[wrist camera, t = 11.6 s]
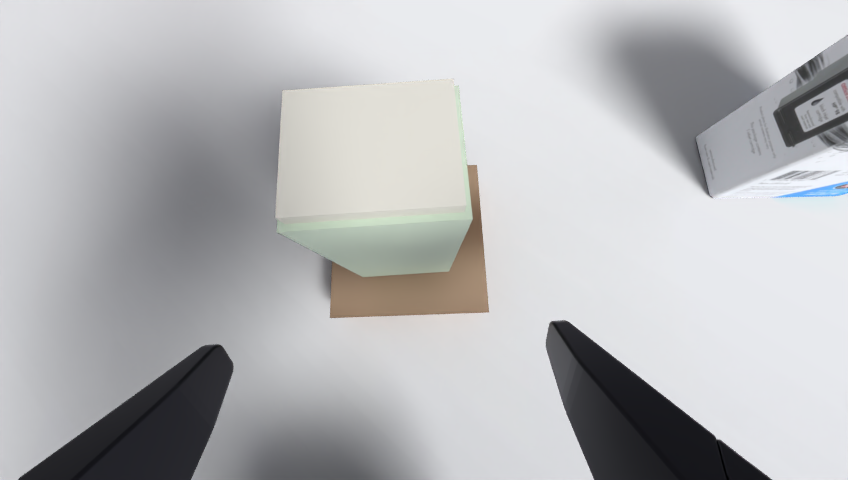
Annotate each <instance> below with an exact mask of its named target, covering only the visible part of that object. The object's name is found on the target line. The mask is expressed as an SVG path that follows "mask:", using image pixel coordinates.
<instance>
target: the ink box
mask: <svg viewBox="0 0 848 480" xmlns="http://www.w3.org/2000/svg"><path fill="white" fill-rule="evenodd" d="M696 141H697V145H698V150H699V154H700V158H701V162H702V166H703V169H704V173H705V178H706V182H707V186H708V190H709V194H710V196H712V197H713V198H765V197H806V196H839V195H843V194H846V193H848V35H847V36H845V37H844V38H842V39H841V40H839V41H838V42H836V43H834V44H833V45H831V46H830V47H828V48H827V49H825V50H824V51H822V52H821V53H820V54H818V55H817V56H815V57H814V58H813V59H811V60H809V61H808V62H806V63H805V64H804V65H802V66H801V67H799V68H797V69H796V70H794V71H793V72H791V73H790V74H788V75H787V76H785V77H784V78H782V79H781V80H779V81H778V82H776V83H775V84H773V85H772V86H771V87H769V88H768V89H766V90H765V91H763V92H762V93H760V94H759V95H757V96H756V97H754V98H753V99H751V100H750V101H748V102H747V103H745V104H744V105H742V106H741V107H739V108H738V109H737V110H735V111H733V112H732V113H730V114H729V115H727V116H726V117H724V118H723V119H721V120H720V121H718V122H717V123H715V124H714V125H713V126H711V127H709V128H708V129H707V130H705V131H704V132H702V133H701V134H699V135H698V136H697V137H696Z"/></svg>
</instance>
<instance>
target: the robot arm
mask: <svg viewBox="0 0 848 480" xmlns="http://www.w3.org/2000/svg"><path fill="white" fill-rule="evenodd" d="M546 349H547V353H548V356H549V359H550V363H551V366H552V369H553V373H554V376H555V379H556V383H557V386H558V389H559V392H560V396H561V399H562V402H563V405H564V408H565V411H566V413H567V416H568V418H569V421H570V423H571V425H572V428H573V430H574V432H575V435H576V437H577V440H578V442H579V444H580V447H581V449H582V452H583V454H584V456H585V459H586V461H587V463H588V466H589V468H590V471H591V473H592V475H593V478H594V480H772V479H771V478H769V477H768V476H767V475H765V474H764V473H763V472H761V471H760V470H759V469H757V468H756V467H755V466H753V465H752V464H751V463H750V462H748V461H747V460H746V459H744V458H743V457H742V456H740V455H739V454H738V453H736V452H735V451H734V450H733V449H731V448H730V447H729V446H727V445H726V444H725V443H724V442H722V441H721V440H718V439H716V437H715V436H714V435H713V434H712V433H711V432H709V431H708V430H707V429H705V428H704V427H703V426H702V425H700V424H699V423H698V422H696V421H695V420H694V419H693V418H691V417H690V416H689V415H688V414H686V413H685V412H684V411H682V410H681V409H680V408H679V407H677V406H676V405H675V404H673V403H672V402H671V401H670V400H668V399H667V398H666V397H664V396H663V395H662V394H661V393H659V392H658V391H657V390H655V389H654V388H653V387H652V386H650V385H649V384H648V383H646V382H645V381H644V380H643V379H641V378H640V377H639V376H637V375H636V374H635V373H634V372H632V371H631V370H630V369H628V368H627V367H626V366H625V365H623V364H622V363H621V362H620V361H618V360H617V359H616V358H614V357H613V356H612V355H611V354H609V353H608V352H607V351H605V350H604V349H603V348H602V347H600V346H599V345H598V344H596V343H595V342H594V341H593V340H591V339H590V338H589V337H587V336H586V335H585V334H584V333H582V332H581V331H580V330H578V329H577V328H576V327H575V326H573V325H572V324H571V323H569V322H568V321H565V320H561V321H552V322H550V324H549V328H548V333H547V339H546ZM232 373H233V362H232V361H231V359H230V357H229V356H228V354H227V353H226V351H225V349H224V348H223V347H222V346H221V345H219V344H215V345H205V346H202V347H201V348H199V349H198V350H196V351H195V352H194V353H192V354H191V355H189V356H188V357H187V358H185V359H184V360H182V361H181V362H180V363H178V364H177V365H176V366H174V367H173V368H171V369H170V370H169V371H167V372H166V373H164V374H163V375H162V376H160V377H159V378H157V379H156V380H155V381H153V382H152V383H151V384H149V385H148V386H146V387H145V388H144V389H142V390H141V391H139V392H138V393H137V394H135V395H134V396H132V397H131V398H130V399H128V400H127V401H126V402H124V403H123V404H121V405H120V406H119V407H117V408H116V409H114V410H113V411H112V412H110V413H109V414H107V415H106V416H105V417H103V418H102V419H101V420H99V421H98V422H96V423H95V424H94V425H92V426H91V427H89V428H88V429H87V430H85V431H84V432H82V433H81V434H80V435H78V436H77V437H76V438H74V439H73V440H71V441H70V442H69V443H67V444H66V445H64V446H63V447H62V448H60V449H59V450H57V451H56V452H55V453H53V454H52V455H51V456H49V457H48V458H46V459H45V460H44V461H42V462H41V463H39V464H38V465H37V466H35V467H34V468H32V469H31V470H30V471H28V472H27V473H26V474H24V475H23V476H21V477H20V478H19V479H18V480H191V478H192V476H193V474H194V471H195V469H196V467H197V465H198V462H199V460H200V458H201V456H202V453H203V451H204V449H205V447H206V444H207V442H208V440H209V438H210V435H211V433H212V430H213V428H214V425H215V422H216V420H217V417H218V414H219V411H220V408H221V405H222V402H223V399H224V396H225V393H226V390H227V387H228V385H229V382H230V379H231V376H232Z"/></svg>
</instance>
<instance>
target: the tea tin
mask: <svg viewBox="0 0 848 480" xmlns="http://www.w3.org/2000/svg"><path fill="white" fill-rule="evenodd" d="M275 218H276V219H277V233H279V234H281V235H283V236H285V237H287V238H289V239H291V240H293V241H294V242H296V243H298V244H300V245H302V246H304V247H306V248H308V249H310V250H312V251H314V252H316V253H317V254H319V255H321V256H323V257H325V258H327V259H329V260H331V261H333V262H335V263H337V264H339V265H340V266H342V267H344V268H346V269H348V270H350V271H352V272H354V273H356V274H358V275H360V276H362V277H373V276H388V275H404V274H419V273H434V272H449V270H450V268H451V266H452V264H453V261H454V259H455V257H456V255H457V253H458V250H459V248H460V246H461V244H462V242H463V240H464V237H465V235H466V233H467V231H468V229H469V226H470V224H471V222H472V220H473V216H472V207H471V197H470V188H469V179H468V169H467V160H466V151H465V141H464V132H463V123H462V113H461V104H460V94H459V86H454V79H441V80H427V81H412V82H398V83H383V84H368V85H354V86H339V87H325V88H310V89H296V90H282V106H281V123H280V140H279V157H278V175H277V192H276V209H275Z"/></svg>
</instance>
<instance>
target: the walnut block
mask: <svg viewBox="0 0 848 480" xmlns="http://www.w3.org/2000/svg"><path fill="white" fill-rule="evenodd" d="M467 169H468V179H469V188H470V197H471V207H472V216H473V220H472V222H471V224H470V226H469V229H468V231H467V233H466V235H465V237H464V240H463V242H462V244H461V246H460V248H459V250H458V253H457V255H456V257H455V259H454V261H453V264H452V266H451V268H450V270H449V272H434V273H419V274H404V275H388V276H373V277H362V276H360V275H358V274H356V273H354V272H352V271H350V270H348V269H346V268H344V267H342V266H340V265H339V264H337V263H335V262H333V261H332V277H331V305H330V318H342V317H370V316H398V315H426V314H455V313H483V312H489V308H488V295H487V283H486V271H485V259H484V247H483V234H482V222H481V210H480V198H479V185H478V173H477V165H467Z"/></svg>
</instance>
